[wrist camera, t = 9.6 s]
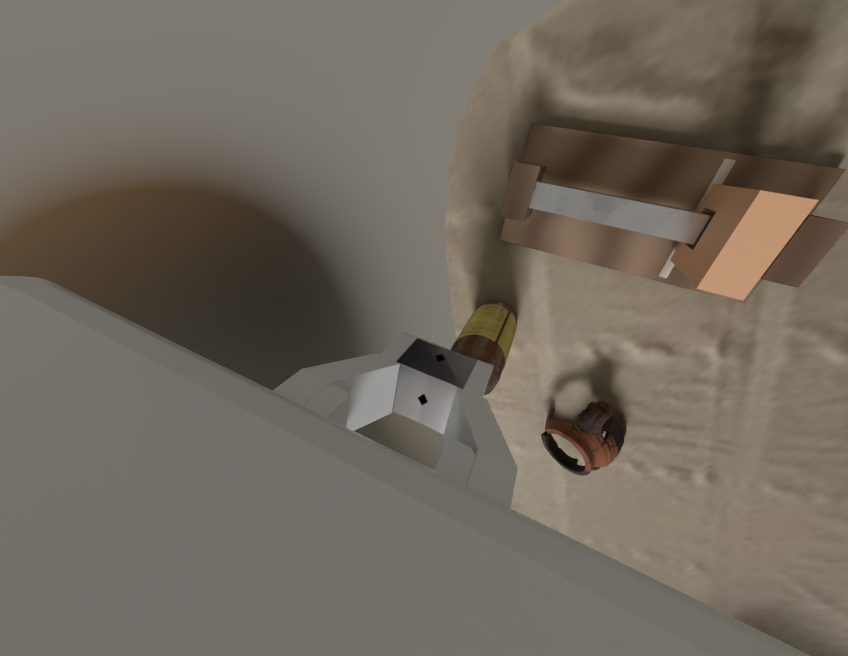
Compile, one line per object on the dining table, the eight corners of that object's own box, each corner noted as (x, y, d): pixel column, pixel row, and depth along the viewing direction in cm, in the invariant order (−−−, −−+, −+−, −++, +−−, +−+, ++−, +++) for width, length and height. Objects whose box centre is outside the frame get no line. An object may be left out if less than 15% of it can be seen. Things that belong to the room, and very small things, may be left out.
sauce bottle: (465, 316, 46) (401, 398, 30) (497, 289, 42) (443, 366, 26) (496, 348, 46) (449, 448, 30) (530, 325, 42) (497, 423, 26)
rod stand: (837, 169, 26) (903, 169, 20) (740, 299, 32) (771, 326, 27) (532, 124, 33) (522, 116, 28) (501, 238, 39) (488, 249, 34)
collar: (754, 190, 27) (818, 200, 19) (704, 268, 30) (743, 300, 23) (714, 183, 28) (760, 190, 20) (670, 259, 31) (696, 288, 24)
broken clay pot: (620, 454, 45) (589, 494, 42) (561, 412, 51) (530, 444, 48) (652, 405, 37) (617, 449, 34) (578, 362, 43) (541, 396, 40)
